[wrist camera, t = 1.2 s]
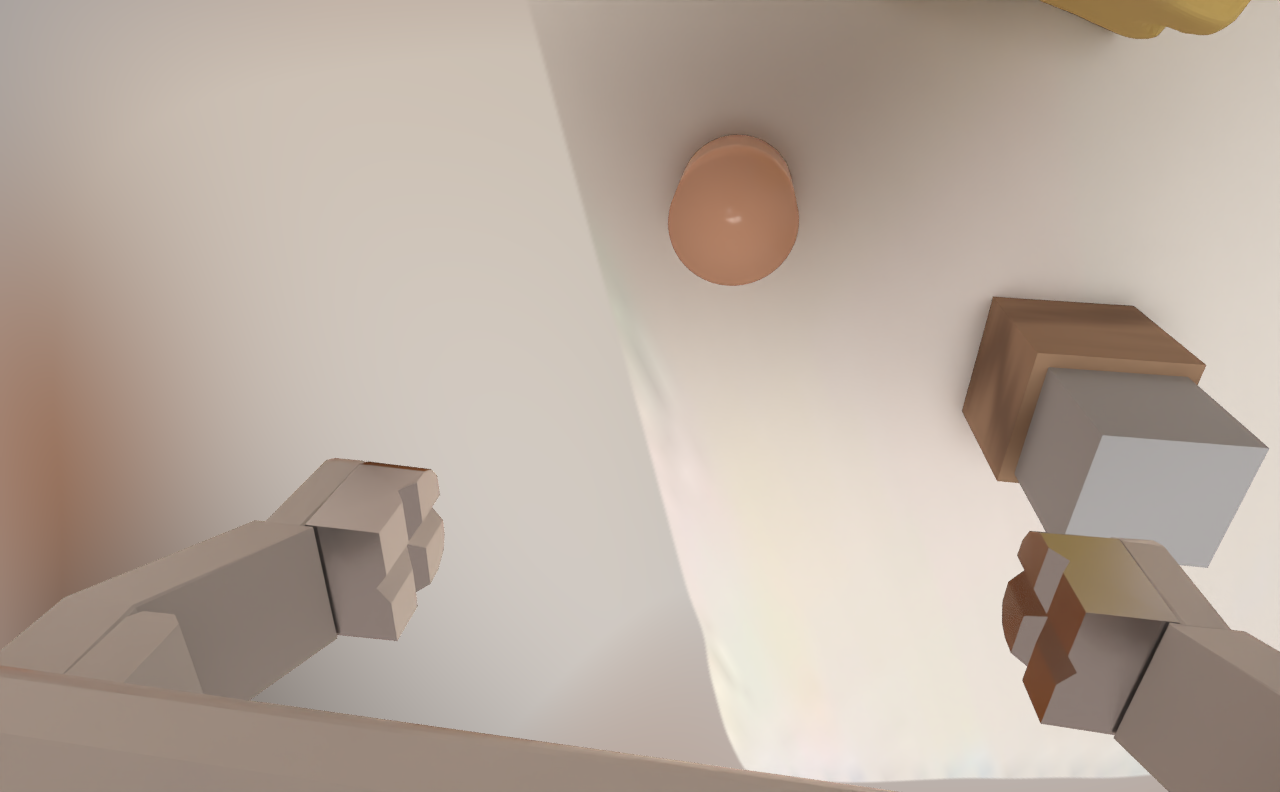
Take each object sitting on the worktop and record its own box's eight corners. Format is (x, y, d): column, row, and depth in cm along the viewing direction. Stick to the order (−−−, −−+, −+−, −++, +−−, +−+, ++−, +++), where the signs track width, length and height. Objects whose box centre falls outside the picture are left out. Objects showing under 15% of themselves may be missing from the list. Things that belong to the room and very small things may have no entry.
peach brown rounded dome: (682, 132, 31) (670, 153, 27) (799, 137, 31) (807, 160, 27) (676, 244, 34) (665, 281, 29) (785, 251, 33) (790, 289, 29)
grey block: (1048, 367, 28) (1102, 434, 24) (1187, 376, 27) (1269, 448, 23) (1014, 474, 30) (1057, 553, 26) (1141, 484, 30) (1207, 567, 26)
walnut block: (992, 296, 33) (1037, 352, 28) (1133, 305, 32) (1206, 365, 27) (961, 410, 36) (997, 480, 31) (1090, 421, 35) (1148, 494, 30)
